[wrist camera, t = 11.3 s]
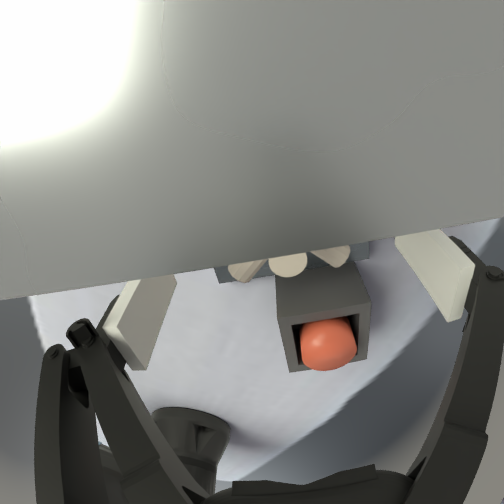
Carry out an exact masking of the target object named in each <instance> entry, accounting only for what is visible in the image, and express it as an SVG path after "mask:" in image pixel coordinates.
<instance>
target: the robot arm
mask: <svg viewBox="0 0 504 504" xmlns="http://www.w3.org/2000/svg"><path fill="white" fill-rule="evenodd" d="M395 246H396V247H397V249H398V250H399V251H400V253H401V254H402V255H403V257H404V258H405V260H406V261H407V262H408V264H409V265H410V267H411V268H412V269H413V271H414V272H415V274H416V275H417V277H418V278H419V279H420V281H421V282H422V284H423V285H424V287H425V288H426V290H427V291H428V293H429V294H430V296H431V297H432V299H433V300H434V302H435V304H436V305H437V307H438V308H439V310H440V311H441V313H442V314H443V316H444V318H445V319H446V321H447V322H451V321H454V320H457V319H460V318H461V316H462V313H463V310H464V307H465V309H466V310H467V312H468V313H469V314H468V317H467V320H466V323H465V326H464V328H463V332H464V333H463V337H462V341H461V344H460V348H459V352H458V355H457V359H456V362H455V365H454V369H453V372H452V375H451V378H450V381H449V384H448V387H447V390H446V393H445V395H444V398H443V400H442V403H441V405H440V408H439V411H438V413H437V416H436V418H435V420H434V423H433V425H432V427H431V429H430V432H429V434H428V436H427V438H426V440H425V442H424V444H423V446H422V449H421V451H420V452H419V454H418V456H417V458H416V459H415V461H414V462H413V464H412V466H411V467H410V469H409V471H408V472H407V474H406V476H405V475H403V474H400V473H397V472H392V471H386V470H376V469H375V465H374V464H372V465H368V466H364V467H360V468H355V469H350V470H346V471H341V472H338V473H335V474H333V475H330V476H328V477H326V478H323V479H320V480H317V481H315V482H312V483H309V484H306V485H296V484H288V483H281V482H274V481H268V480H262V481H233V482H232V488H228V489H225V490H222V491H220V492H218V493H216V494H215V483H216V473H217V465H218V463H219V461H220V459H221V457H222V455H223V453H224V451H225V449H226V447H227V445H228V443H229V440H230V427H229V426H228V425H227V424H226V423H225V422H224V421H222V420H221V419H219V418H217V417H215V416H212V415H210V414H207V413H204V412H200V411H196V410H191V409H185V408H173V407H171V408H161V409H158V410H155V411H154V412H153V413H152V415H150V413H149V412H148V410H147V408H146V407H145V405H144V403H143V401H142V400H141V398H140V396H139V394H138V392H137V391H136V389H135V387H134V385H133V383H132V381H131V379H130V378H129V376H128V374H127V372H126V371H125V370H124V367H125V364H126V363H127V364H128V365H129V367H130V368H131V369H132V370H147V367H148V364H149V361H150V358H151V355H152V352H153V349H154V346H155V343H156V340H157V337H158V334H159V331H160V329H161V326H162V323H163V320H164V317H165V315H166V312H167V309H168V306H169V304H170V301H171V298H172V295H173V293H174V290H175V288H176V285H177V282H176V279H175V277H174V275H173V274H171V275H165V276H158V277H152V278H145V279H139V280H133V281H128V282H127V284H126V286H125V287H124V289H123V291H122V292H121V294H120V295H117V296H116V297H115V298H114V299H113V300H112V301H111V303H110V305H109V306H108V308H107V310H106V312H105V313H104V316H103V317H102V319H101V320H100V322H99V324H98V326H97V328H96V329H95V328H94V326H93V325H92V323H91V322H90V321H89V319H86V318H84V319H80V320H78V321H76V322H74V323H73V324H72V325H71V326H70V327H69V328H68V330H67V332H66V337H67V338H68V339H69V341H70V342H71V343H72V345H73V346H74V347H75V348H74V349H71V350H68V351H66V349H65V348H64V347H63V346H62V345H61V344H56V345H53V346H51V347H50V348H49V349H48V350H47V351H46V353H45V354H44V357H43V362H42V369H41V374H40V382H39V389H38V398H37V408H36V421H35V422H36V423H35V443H34V467H35V489H36V501H37V504H463V502H464V500H465V498H466V496H467V494H468V491H469V489H470V487H471V485H472V483H473V480H474V478H475V475H476V473H477V470H478V468H479V465H480V463H481V460H482V457H483V454H484V452H485V449H486V445H487V441H488V435H487V434H486V433H485V430H486V426H487V423H488V419H489V416H490V412H491V408H492V404H493V400H494V396H495V391H496V386H497V382H498V376H499V371H500V365H501V357H502V351H503V343H504V272H503V271H502V270H501V269H500V268H497V267H495V266H486V265H485V264H484V263H483V262H482V261H481V260H480V259H479V258H478V257H477V256H476V255H475V254H474V253H473V252H472V251H471V250H470V249H469V248H468V247H467V246H466V245H465V244H464V243H463V242H462V241H461V240H459V239H457V238H455V237H453V236H450V237H448V236H447V235H446V234H445V233H444V232H443V231H442V230H440V229H436V230H430V231H425V232H419V233H414V234H408V235H403V236H397V237H395ZM95 412H96V415H97V418H98V420H99V423H100V426H101V428H102V431H103V433H104V435H105V438H106V440H107V443H108V445H109V447H108V446H106V445H103V444H102V443H101V442H98V435H97V426H96V416H95ZM501 504H504V498H503V500H502V502H501Z"/></svg>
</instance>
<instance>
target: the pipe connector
mask: <svg viewBox="0 0 504 504" xmlns="http://www.w3.org/2000/svg"><path fill="white" fill-rule="evenodd" d="M311 253H313V254H314V255H316V256H318V257H319V258H321V259H322V260H324V261H325V262H327V263H328V264H330V265H331V266H333V267H335V268H336V267H340V266H341V265H343V264H344V263H345V261H346V260H347V258H348V257H349V254H350V246H349V245H346V246H340V247H334V248H328V249H322V250H317V251H311ZM267 260H268V259H263V260H257V261H251V262H245V263H239V264H233V265H229V266H228V270H229V272H230V274H231V275H232V277H234V278H235V279H236V280H238V281H240V282H243V283H247V282H249V281H250V280H251V279H252V277H253V276H254V275H255V274H256V273H257V272H258V270H259V269H260V268H261V267H262V266H263V264H264V263H265V262H266V261H267ZM306 264H307V255H306V252H305V253H299V254H293V255H287V256H281V257H275V258H269V266H270V269H271V270H272V271H273V272H274V273H275V274H276V275H279V276H281V277H292V276H296V275H298V274H300V273H301V272H302V271H303V270H304V269H305V267H306Z"/></svg>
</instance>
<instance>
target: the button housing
mask: <svg viewBox="0 0 504 504" xmlns="http://www.w3.org/2000/svg"><path fill="white" fill-rule="evenodd" d="M275 282H276V303H277V320H278V324H279V328H280V333H281V337H282V342H283V346H284V350H285V355H286V359H287V364H288V368H289V373H290V372H297V371H304V370H311V368H309V367H307V366H306V365H305V364H304V363H303V361H302V353H301V344H300V335H299V330H300V327H301V325H302V323H307V322H313V321H319V320H325V319H331V318H336V317H342V316H346V317H347V318H348V320H349V322H350V325H351V329H352V332H353V336H354V339H355V343H356V347H357V351H356V354H355V356H354V357H353V359H352V360H351V361H350V362H348V363H351V362H356V361H360V360H365V359H367V351H368V341H369V329H370V316H371V300H370V297H369V295H368V293H367V290H366V288H365V286H364V283H363V281H362V279H361V276H360V274H359V272H358V269H357V267H356V265H355V263H354V262H349V263H344V264H343V265H341V266H340V267H336V268H335V267H333V266H326V267H320V268H315V269H309V270H303V271H302V272H301V273H300V274H298V275H296V276H292V277H281V276H279V275H275Z"/></svg>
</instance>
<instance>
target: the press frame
mask: <svg viewBox="0 0 504 504" xmlns="http://www.w3.org/2000/svg"><path fill="white" fill-rule="evenodd" d="M501 217H504V0H0V300H4V299H12V298H19V297H26V296H33V295H40V294H47V293H53V292H60V291H67V290H74V289H80V288H87V287H94V286H100V285H107V284H113V283H120V282H126V281H133V280H139V279H145V278H152V277H158V276H165V275H171V274H177V273H183V272H190V271H196V270H202V269H208V268H214V270H215V273H216V275H217V278H218V281H219V283H226V282H232V281H238V280H236V279H235V278H234V277H232V275H231V274H230V272H229V270H228V266H229V265H233V264H239V263H245V262H251V261H257V260H263V259H268V260H267V261H266V262H265V263H264V264H263V266H262V267H261V268H260V269H259V270H258V272H257V273H256V274H255V275H254V276H253V277H252V278H258V277H264V276H271V275H276V274H275V273H274V272H273V271H272V270H271V269H270V266H269V258H275V257H281V256H287V255H293V254H299V253H305V252H306V255H307V264H306V267H305V269H304V270H307V269H313V268H319V267H325V266H330V264H328V263H327V262H325V261H324V260H322V259H321V258H319V257H318V256H316V255H314V254H313V253H311V251H317V250H322V249H328V248H334V247H340V246H346V245H349V246H350V254H349V257H348V258H347V260H346V261H345V263H347V262H353V261H358V260H364V259H369V241H374V240H380V239H386V238H391V237H397V236H403V235H408V234H414V233H419V232H425V231H430V230H436V229H441V228H447V227H452V226H458V225H463V224H469V223H474V222H479V221H485V220H490V219H495V218H501Z"/></svg>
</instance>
